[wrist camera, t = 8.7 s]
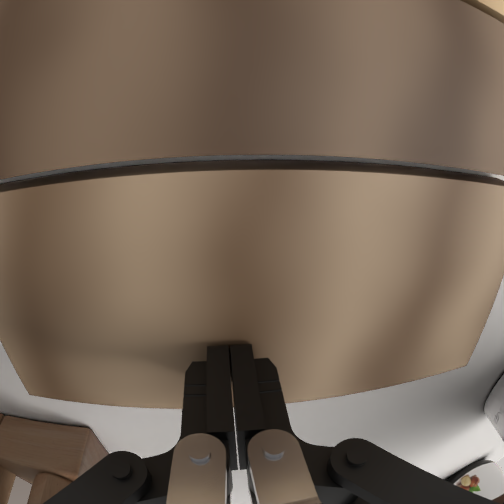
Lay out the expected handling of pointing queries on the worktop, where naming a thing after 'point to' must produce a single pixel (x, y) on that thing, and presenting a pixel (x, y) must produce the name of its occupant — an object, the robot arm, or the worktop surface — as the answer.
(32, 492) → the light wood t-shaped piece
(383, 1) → the mating board
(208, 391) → the robot arm
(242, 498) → the worktop surface
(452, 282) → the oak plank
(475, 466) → the spread jar
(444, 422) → the worktop surface
